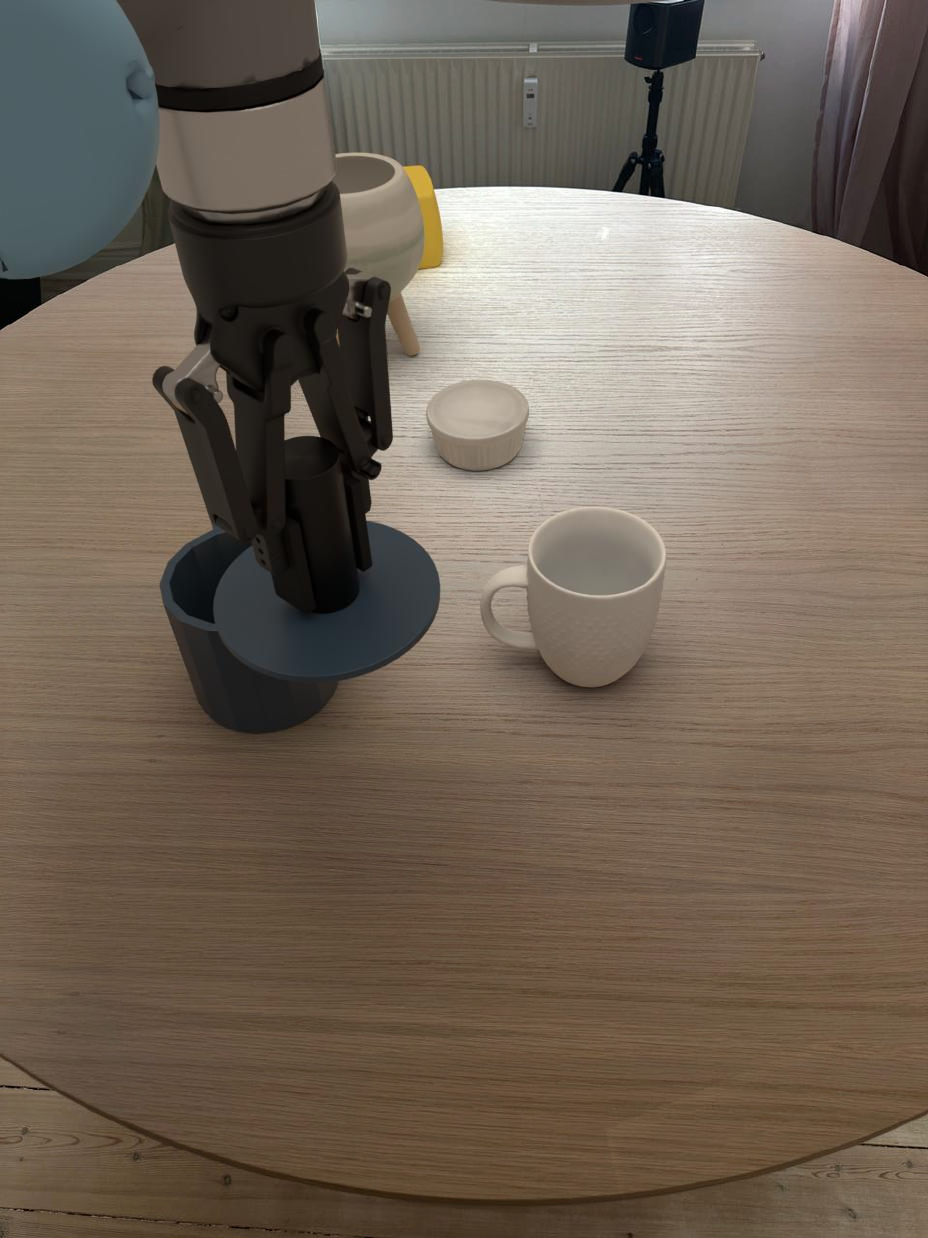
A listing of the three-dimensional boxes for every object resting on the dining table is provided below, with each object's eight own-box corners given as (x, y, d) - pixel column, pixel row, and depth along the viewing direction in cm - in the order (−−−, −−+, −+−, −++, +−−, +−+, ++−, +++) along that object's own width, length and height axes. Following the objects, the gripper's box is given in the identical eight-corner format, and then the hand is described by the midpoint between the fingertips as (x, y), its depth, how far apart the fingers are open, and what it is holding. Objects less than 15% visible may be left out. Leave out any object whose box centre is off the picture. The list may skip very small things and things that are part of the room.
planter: (332, 316, 131) (307, 141, 115) (447, 329, 128) (438, 150, 112) (285, 380, 121) (250, 197, 105) (409, 396, 117) (393, 209, 101)
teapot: (453, 281, 137) (449, 196, 129) (365, 290, 136) (355, 205, 128) (434, 220, 151) (429, 140, 143) (353, 229, 150) (344, 148, 142)
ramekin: (446, 487, 105) (444, 447, 101) (416, 431, 112) (412, 391, 108) (544, 464, 107) (545, 423, 103) (507, 410, 114) (507, 370, 111)
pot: (214, 776, 79) (177, 675, 71) (182, 627, 91) (147, 524, 83) (364, 731, 82) (346, 628, 73) (314, 592, 94) (293, 489, 85)
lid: (238, 717, 55) (191, 570, 47) (201, 561, 64) (157, 416, 56) (471, 652, 58) (465, 503, 50) (404, 512, 67) (390, 366, 59)
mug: (480, 707, 84) (476, 597, 74) (483, 615, 91) (480, 505, 82) (657, 708, 83) (675, 598, 73) (645, 615, 90) (660, 504, 81)
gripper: (334, 112, 49) (379, 487, 65) (31, 234, 40) (172, 631, 57) (447, 145, 45) (464, 533, 62) (140, 288, 36) (257, 694, 53)
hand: (324, 579), depth 59 cm, fingers closed on lid, 4 cm apart
